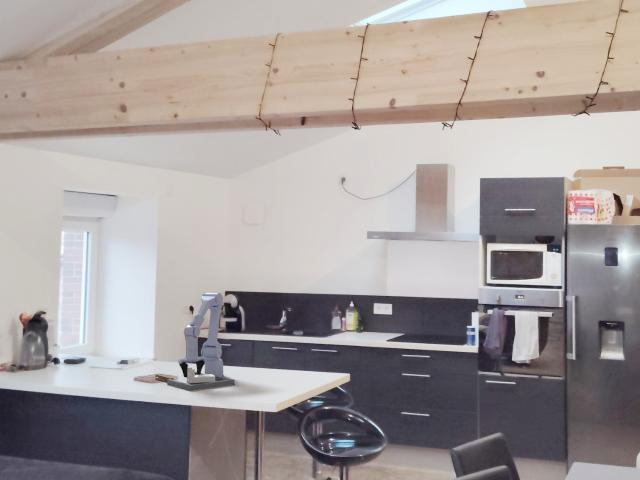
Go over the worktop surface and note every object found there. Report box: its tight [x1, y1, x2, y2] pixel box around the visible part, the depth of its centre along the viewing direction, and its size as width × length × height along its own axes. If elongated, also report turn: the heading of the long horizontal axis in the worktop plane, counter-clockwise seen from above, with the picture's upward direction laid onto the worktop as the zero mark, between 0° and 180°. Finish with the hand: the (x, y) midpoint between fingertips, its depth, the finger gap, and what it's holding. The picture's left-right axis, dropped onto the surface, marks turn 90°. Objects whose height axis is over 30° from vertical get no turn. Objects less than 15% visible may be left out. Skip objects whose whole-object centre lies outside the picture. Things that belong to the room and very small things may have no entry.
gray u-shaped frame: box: [166, 375, 236, 392], centre depth 379 cm, size 25×22×2 cm
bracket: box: [186, 367, 216, 385], centre depth 383 cm, size 13×7×8 cm, turn 111°
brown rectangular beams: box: [154, 371, 205, 383], centre depth 394 cm, size 20×16×2 cm
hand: (192, 376), depth 385 cm, fingers open, 7 cm apart
